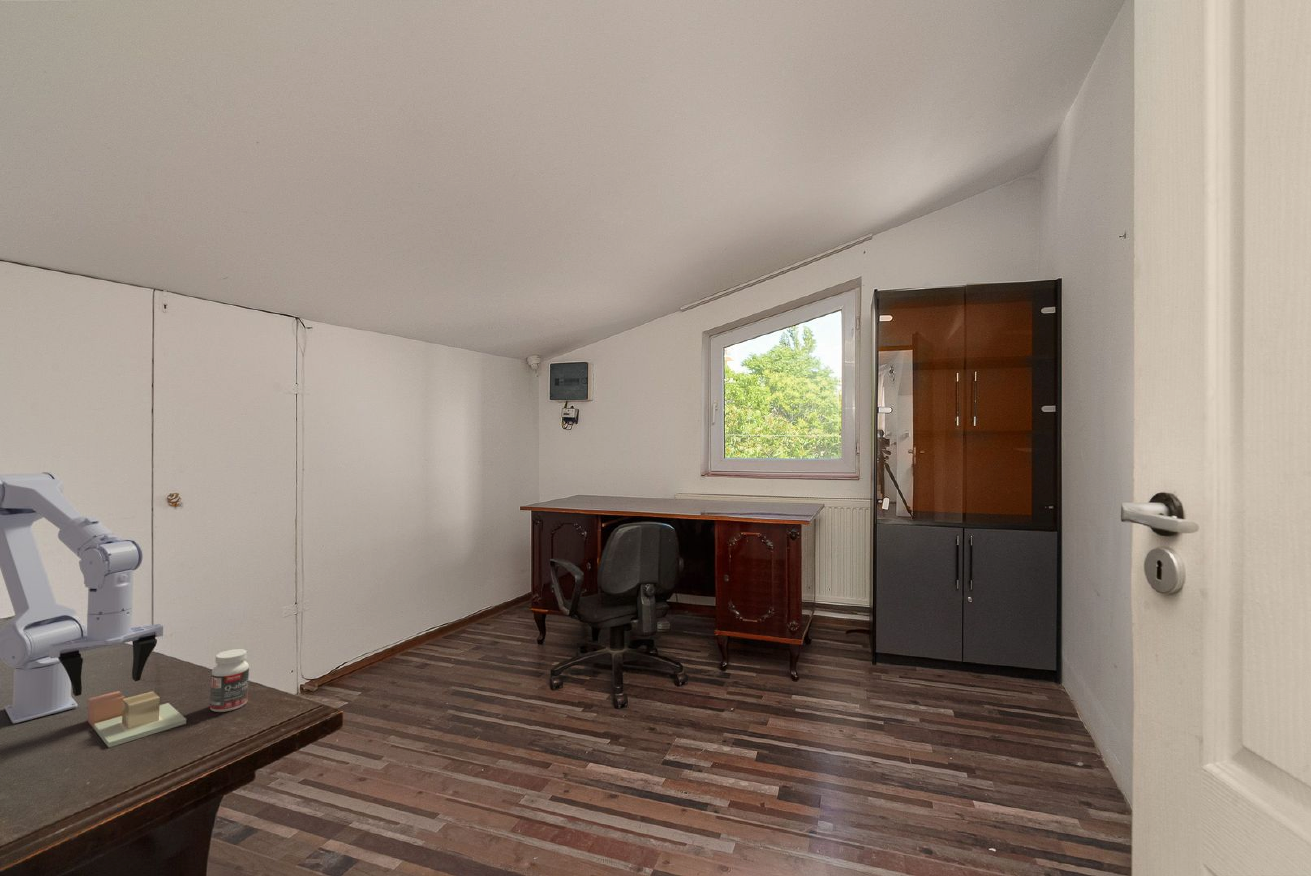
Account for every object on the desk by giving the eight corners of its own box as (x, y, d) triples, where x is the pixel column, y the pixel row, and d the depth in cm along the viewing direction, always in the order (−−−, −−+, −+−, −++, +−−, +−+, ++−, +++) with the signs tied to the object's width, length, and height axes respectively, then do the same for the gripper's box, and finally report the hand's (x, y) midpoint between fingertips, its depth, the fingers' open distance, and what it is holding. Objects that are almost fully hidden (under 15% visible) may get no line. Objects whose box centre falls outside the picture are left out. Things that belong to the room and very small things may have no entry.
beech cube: (122, 722, 98) (122, 699, 98) (152, 713, 101) (152, 691, 101) (128, 729, 95) (129, 705, 95) (158, 720, 99) (159, 697, 99)
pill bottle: (227, 714, 103) (229, 660, 103) (201, 711, 104) (203, 657, 104) (255, 701, 109) (257, 649, 109) (230, 697, 110) (232, 646, 110)
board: (93, 728, 97) (93, 723, 97) (168, 707, 105) (168, 702, 105) (108, 747, 91) (108, 742, 91) (186, 723, 99) (186, 718, 99)
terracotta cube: (87, 721, 100) (88, 698, 100) (118, 712, 103) (119, 690, 103) (92, 728, 97) (93, 705, 97) (124, 719, 101) (125, 696, 101)
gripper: (55, 624, 92) (53, 707, 92) (169, 605, 104) (167, 678, 104) (47, 616, 96) (44, 696, 96) (157, 598, 108) (155, 669, 108)
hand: (107, 686), depth 100 cm, fingers open, 7 cm apart
